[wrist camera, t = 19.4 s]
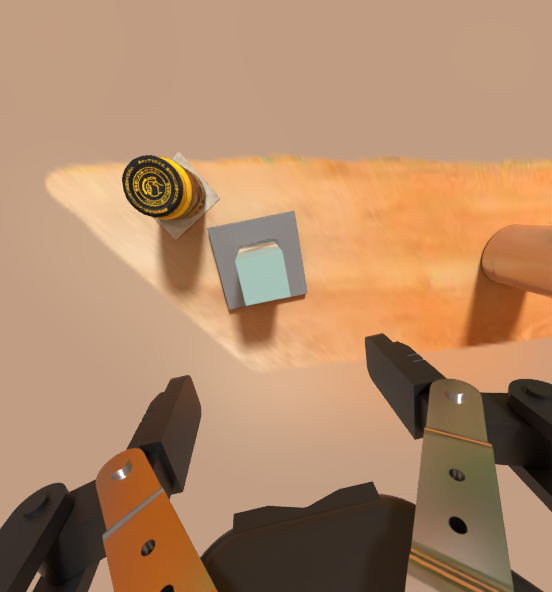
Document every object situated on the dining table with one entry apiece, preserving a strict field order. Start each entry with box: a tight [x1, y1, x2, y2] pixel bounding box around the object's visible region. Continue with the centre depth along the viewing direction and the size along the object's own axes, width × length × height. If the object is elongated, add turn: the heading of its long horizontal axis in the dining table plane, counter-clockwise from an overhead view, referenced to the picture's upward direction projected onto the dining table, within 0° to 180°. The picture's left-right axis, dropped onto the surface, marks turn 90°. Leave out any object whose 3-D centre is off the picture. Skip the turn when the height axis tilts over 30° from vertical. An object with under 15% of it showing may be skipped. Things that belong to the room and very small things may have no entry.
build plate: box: [207, 211, 307, 310], centre depth 38 cm, size 12×12×1 cm
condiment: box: [122, 152, 220, 240], centre depth 29 cm, size 7×8×12 cm
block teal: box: [235, 246, 291, 306], centre depth 30 cm, size 5×5×5 cm
